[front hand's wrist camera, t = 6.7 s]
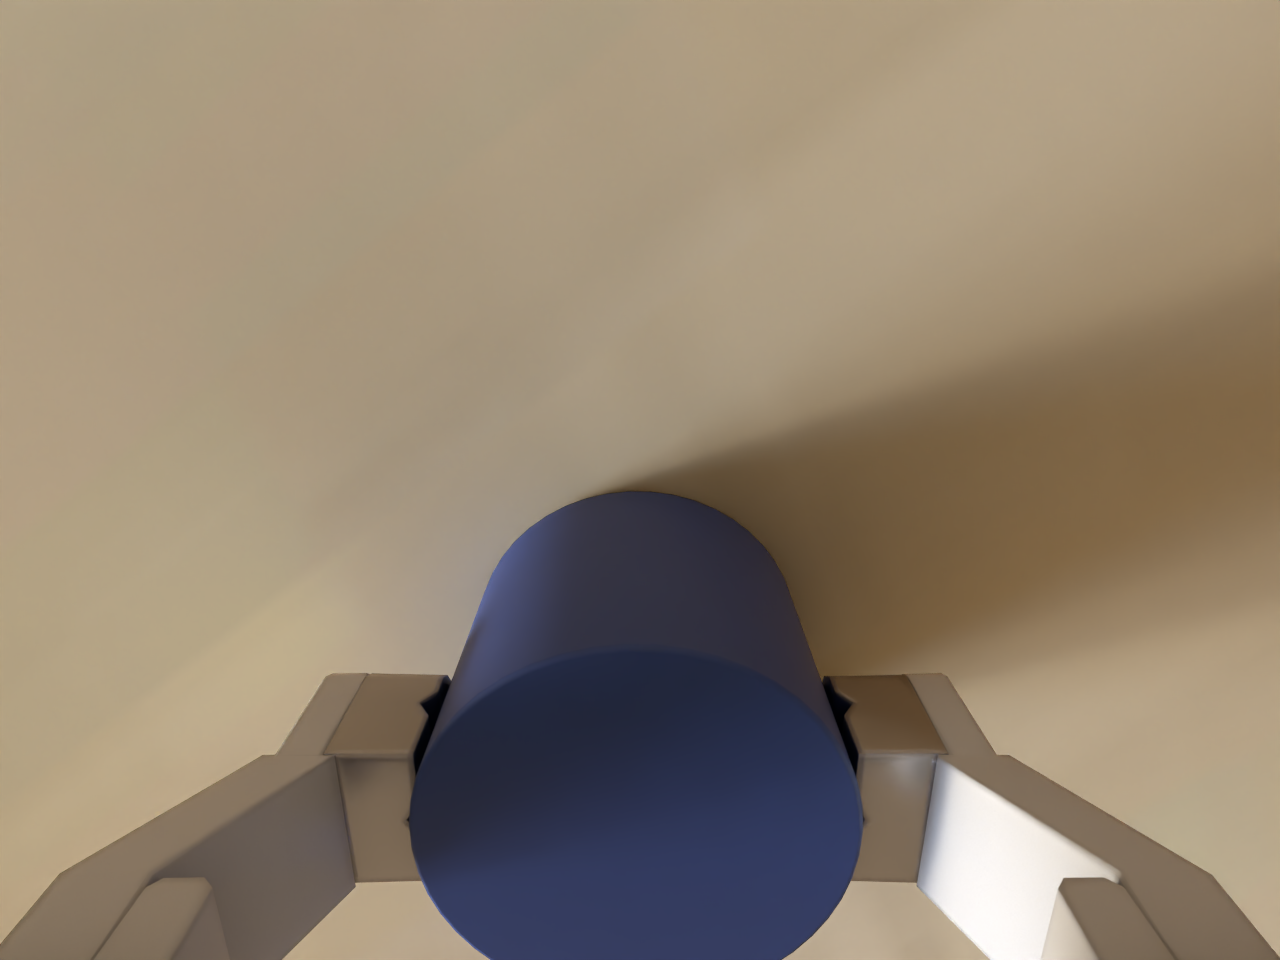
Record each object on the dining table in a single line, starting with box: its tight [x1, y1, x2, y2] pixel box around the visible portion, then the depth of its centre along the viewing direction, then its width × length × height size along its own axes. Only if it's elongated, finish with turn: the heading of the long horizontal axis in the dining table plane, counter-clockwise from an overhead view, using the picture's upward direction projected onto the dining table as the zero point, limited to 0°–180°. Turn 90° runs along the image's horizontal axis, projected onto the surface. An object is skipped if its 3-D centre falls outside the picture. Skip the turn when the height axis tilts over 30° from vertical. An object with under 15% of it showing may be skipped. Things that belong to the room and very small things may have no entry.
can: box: [409, 491, 863, 960], centre depth 10 cm, size 5×5×4 cm
